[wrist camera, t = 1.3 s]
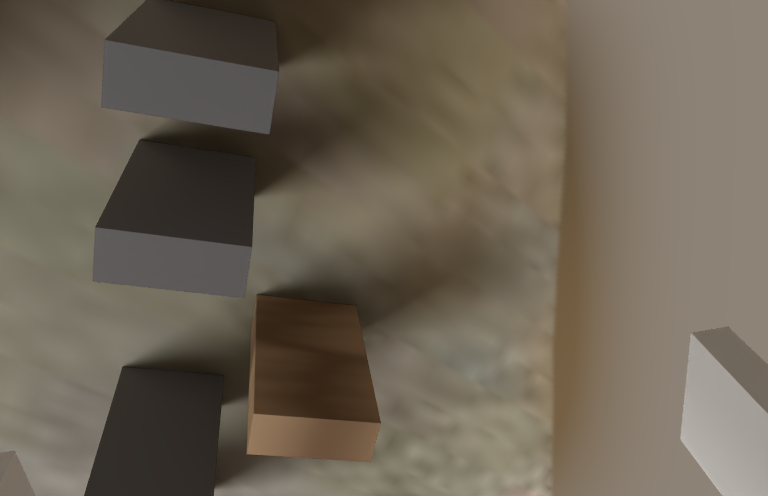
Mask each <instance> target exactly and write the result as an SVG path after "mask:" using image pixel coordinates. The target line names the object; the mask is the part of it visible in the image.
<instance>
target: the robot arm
mask: <svg viewBox="0 0 768 496" xmlns="http://www.w3.org/2000/svg"><path fill="white" fill-rule="evenodd" d="M680 439H681V441H682V442H683V443H684V445H685V446H686V447H687V449H688V450H689V452H690V453H691V454H692V456H693V457H694V458H695V459H696V461H697V462H698V464H699V465H700V466H701V468H702V469H703V470H704V472H705V473H706V474H707V476H708V477H709V478H710V480H711V481H712V483H713V484H714V485H715V487H716V488H717V489H718V491H719V492H720V493H721V495H722V496H768V364H767V363H765V361H763V360H762V359H761V358H760V357H759V356H758V355H757V354H756V353H755V352H754V351H753V350H752V349H751V348H750V347H749V346H748V345H747V344H746V343H745V342H744V341H742V340H741V339H740V338H739V337H738V336H737V335H736V334H735V333H734V332H733V331H732V330H731V329H730V328H729V327H723V328H717V329H711V330H705V331H699V332H694V333H691V340H690V349H689V360H688V370H687V379H686V389H685V399H684V408H683V418H682V428H681V437H680ZM0 496H35V494H34V491H33V489H32V487H31V485H30V483H29V480H28V478H27V476H26V474H25V472H24V469H23V467H22V465H21V463H20V461H19V458H18V456H17V454H16V452H15V451H10V452H4V453H0Z"/></svg>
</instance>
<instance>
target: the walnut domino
mask: <svg viewBox="0 0 768 496" xmlns="http://www.w3.org/2000/svg"><path fill="white" fill-rule="evenodd" d="M380 425H381V421H380V417H379V412H378V407H377V403H376V398H375V393H374V388H373V384H372V379H371V374H370V369H369V365H368V360H367V355H366V351H365V346H364V341H363V336H362V332H361V327H360V322H359V318H358V313H357V308H356V306H355V305H346V304H337V303H328V302H319V301H310V300H301V299H292V298H283V297H274V296H265V295H257V296H256V302H255V308H254V315H253V321H252V327H251V349H250V377H249V405H248V433H247V454H252V455H269V456H285V457H301V458H317V459H333V460H349V461H365V462H371V459H372V455H373V451H374V447H375V444H376V440H377V436H378V432H379V429H380Z"/></svg>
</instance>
